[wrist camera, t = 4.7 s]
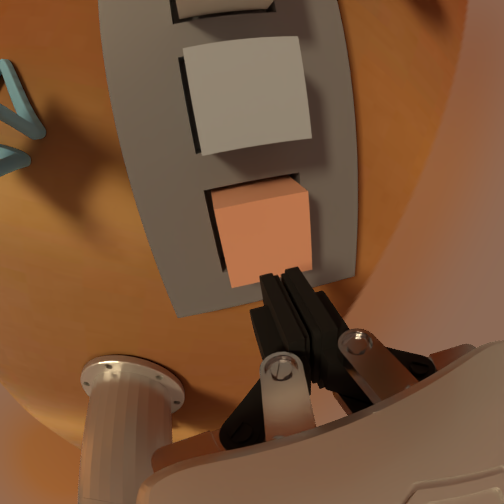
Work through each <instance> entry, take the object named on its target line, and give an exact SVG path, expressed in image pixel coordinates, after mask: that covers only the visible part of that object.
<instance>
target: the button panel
mask: <svg viewBox="0 0 504 504" xmlns="http://www.w3.org/2000/svg"><path fill="white" fill-rule="evenodd" d="M98 7H99V21H100V32H101V41H102V49H103V57H104V64H105V71H106V77H107V83H108V89H109V95H110V100H111V105H112V110H113V115H114V120H115V125H116V129H117V134H118V138H119V142H120V146H121V150H122V154H123V158H124V162H125V166H126V170H127V173H128V177H129V181H130V184H131V188H132V191H133V195H134V198H135V201H136V205H137V208H138V211H139V214H140V217H141V221H142V224H143V227H144V230H145V233H146V236H147V239H148V242H149V244H150V247H151V250H152V253H153V256H154V259H155V261H156V264H157V267H158V269H159V272H160V275H161V277H162V280H163V283H164V285H165V288H166V290H167V293H168V295H169V298H170V300H171V303H172V305H173V308H174V310H175V312H176V315H177V317H178V318H181V317H186V316H191V315H196V314H201V313H206V312H210V311H215V310H220V309H224V308H229V307H234V306H238V305H243V304H247V303H251V302H256V301H260V300H263V297H262V291H261V285H260V282H257V283H253V284H248V285H244V286H240V287H235V288H232V287H231V283H230V279H229V274H228V270H227V266H226V262H225V257H224V253H223V248H222V244H221V240H220V235H219V231H218V226H217V222H216V217H215V212H214V207H213V201H212V195H211V189H213V188H218V187H222V186H227V185H232V184H237V183H242V182H247V181H252V180H258V179H263V178H269V177H275V176H280V175H286V174H287V175H288V176H290V177H291V178H292V179H293V180H295V181H296V182H297V183H299V184H300V185H301V186H302V187H303V188H305V189H306V190H307V191H308V196H309V211H310V228H311V249H312V270H308V271H304V272H302V273H303V275H304V276H305V278H306V279H307V281H308V282H309V284H310V285H311V287H316V286H320V285H324V284H328V283H331V282H335V281H339V280H342V279H346V278H349V277H353V276H355V263H356V247H357V221H358V166H357V141H356V125H355V112H354V101H353V92H352V83H351V75H350V67H349V60H348V54H347V48H346V42H345V36H344V31H343V25H342V20H341V16H340V11H339V7H338V2H337V0H274V1H273V2H272V3H271V5H270V6H269V7H268V9H257V10H241V11H230V12H221V13H214V14H207V15H200V16H194V17H189V18H184V19H179V15H178V10H177V5H176V0H98ZM282 36H298V39H299V45H300V51H301V57H302V63H303V70H304V76H305V84H306V91H307V99H308V107H309V115H310V124H311V134H312V138H310V139H301V140H293V141H285V142H278V143H271V144H264V145H258V146H252V147H246V148H240V149H235V150H229V151H224V152H219V153H214V154H209V155H205V156H202V152H201V147H200V142H199V137H198V132H197V127H196V122H195V116H194V111H193V106H192V100H191V95H190V89H189V83H188V78H187V72H186V66H185V60H184V54H183V48H187V47H192V46H197V45H202V44H208V43H215V42H222V41H229V40H238V39H248V38H260V37H282ZM279 278H280V280H281V277H279ZM281 282H282V281H281Z"/></svg>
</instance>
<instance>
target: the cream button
mask: <svg viewBox="0 0 504 504" xmlns="http://www.w3.org/2000/svg"><path fill="white" fill-rule="evenodd" d="M273 1H274V0H176V5H177V10H178V15H179V19H184V18H189V17H194V16H200V15H207V14H214V13H221V12H230V11H241V10H257V9H268V7H269V6H270V5H271V3H272V2H273Z"/></svg>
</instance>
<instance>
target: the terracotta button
mask: <svg viewBox="0 0 504 504" xmlns="http://www.w3.org/2000/svg"><path fill="white" fill-rule="evenodd" d="M211 195H212V201H213V207H214V212H215V217H216V222H217V226H218V231H219V235H220V240H221V244H222V248H223V253H224V257H225V262H226V266H227V270H228V274H229V279H230V283H231V287H232V288H235V287H240V286H244V285H248V284H253V283H257V282H260V278H259V276H260V275H264V274H268V273H273V275H278V276H279V277H281V274H283V273H285V269H289V268H293V267H299V269H300V270H301V272H304V271H308V270H312V249H311V228H310V211H309V196H308V191H307V190H306V189H305V188H303V187H302V186H301V185H300V184H299V183H297V182H296V181H295V180H293V179H292V178H291V177H290V176H288V175H287V174H286V175H280V176H275V177H269V178H263V179H258V180H252V181H247V182H242V183H237V184H232V185H227V186H222V187H218V188H213V189H211Z"/></svg>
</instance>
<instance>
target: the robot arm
mask: <svg viewBox="0 0 504 504" xmlns="http://www.w3.org/2000/svg"><path fill="white" fill-rule="evenodd" d="M259 278H260V285H261V291H262V297H263V303H264V306H263V307H259V308H255V309H251V310H250V315H251V320H252V324H253V329H254V332H255V336H256V340H257V343H258V346H259V350H260V353H261V356H262V359H263V361H262V363H261V365H260V379H259V380H258V381H257V383H256V384H255V385H254V387H253V388H252V389H251V390H250V392H249V393H248V394H247V396H246V397H245V398H244V399H243V401H242V402H241V403H240V404H239V406H238V407H237V408H236V409H235V411H234V412H233V413H232V414H231V415H230V417H229V418H228V419H227V420H226V421H225V423H224V424H223V425H222V427H221V428H220V429H218V430H215V431H213V432H210V431H207V432H204V433H201V434H198V435H196V436H193V437H190V438H187V439H184V440H181V441H178V442H175V443H172V415H171V414H172V413H174V412H176V411H177V410H178V409H180V407H181V406H182V405H183V403H184V399H185V397H184V388H183V385H182V383H181V382H180V380H179V379H178V378H177V377H176V376H175V375H174V374H172V373H171V372H170V371H168V370H167V369H165V368H163V367H161V366H159V365H157V364H155V363H152V362H150V361H147V360H144V359H140V358H136V357H131V356H124V355H108V356H101V357H97V358H95V359H92V360H90V361H89V362H88V363H87V364H86V365H85V366H84V368H83V370H82V374H81V384H82V387H83V389H84V390H85V392H86V393H87V395H88V396H89V397H90V399H89V404H88V410H87V416H86V422H85V428H84V435H83V443H82V451H81V460H80V471H79V486H78V487H79V488H78V504H504V341H495V342H490V343H487V344H484V345H482V346H479V347H477V348H476V347H474V346H473V345H470V344H462V345H459V346H456V347H453V348H450V349H447V350H443V351H440V352H437V353H433V354H430V355H429V357H425V356H422V355H418V354H413V353H409V352H405V351H400V350H396V349H392V348H388V347H385V346H384V345H383V344H382V343H381V342H380V341H379V340H378V339H377V338H376V337H375V336H374V335H373V334H372V333H370V332H369V331H366V330H364V329H351V330H350V329H349V328H348V326H347V325H346V323H345V322H344V320H343V319H342V317H341V316H340V314H339V313H338V311H337V310H336V309H335V307H334V306H333V304H332V303H331V301H330V300H329V298H328V297H327V295H326V294H325V293H324V292H323V291H319V292H314V290H313V289H312V287H311V285H310V284H309V282H308V281H307V279H306V278H305V276H304V275H303V273H302V272H301V270H300V269H299V267H293V268H289V269H285V273H283V274H281V280H280V278H279V276H278V275H273V273H268V274H264V275H260V276H259ZM281 281H282V282H281ZM311 381H312V383H317V384H318V386H319V388H320V389H321V388H324V387H325V388H326V389H327V390H330V391H333V395H334V397H335V398H336V400H337V401H338V403H339V404H340V405H341V407H342V408H343V410H344V411H345V412H346V414H347V415H348V416H346V417H343V418H341V419H338V420H335V421H333V422H330V423H327V424H325V425H322V426H319V427H316V424H315V419H314V415H313V410H312V405H311V401H310V395H311Z"/></svg>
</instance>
